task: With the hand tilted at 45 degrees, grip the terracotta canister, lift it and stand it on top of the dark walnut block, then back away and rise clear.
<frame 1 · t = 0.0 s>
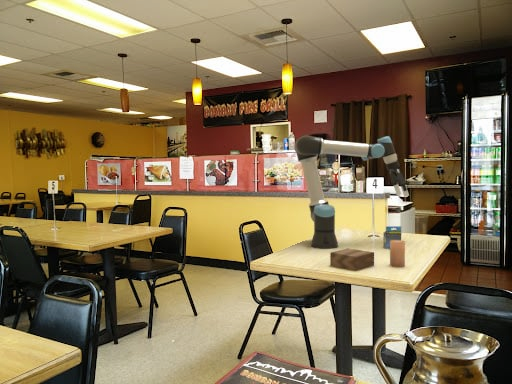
hand: (402, 195, 248), 28 cm above the table, fingers open, 13 cm apart
label tape box: (392, 248, 230), on the table
terracotta canister: (397, 265, 188), on the table
walnut block: (352, 265, 188), on the table
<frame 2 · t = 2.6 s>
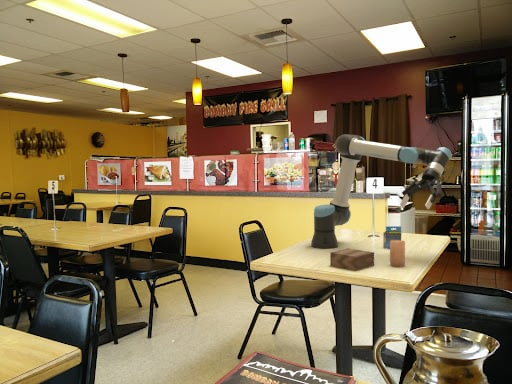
hand: (413, 206, 194), 26 cm above the table, fingers open, 13 cm apart
nothing on the table moved.
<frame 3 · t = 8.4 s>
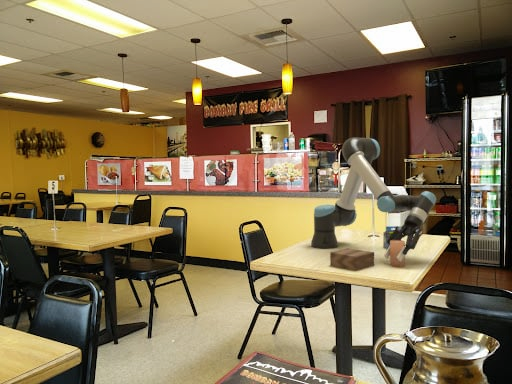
hand: (392, 258, 186), 4 cm above the table, fingers closed on terracotta canister, 6 cm apart
terracotta canister: (397, 265, 188), on the table, touching gripper
everything else where it was.
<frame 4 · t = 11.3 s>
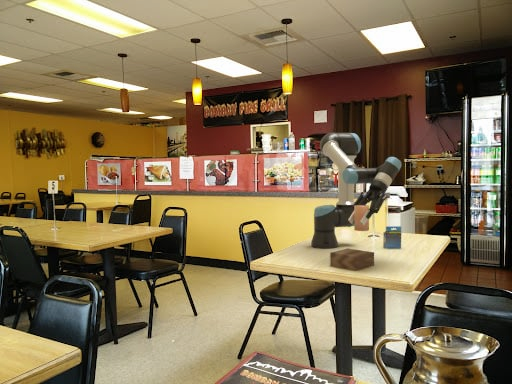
hand: (356, 222, 185), 20 cm above the table, fingers closed on terracotta canister, 6 cm apart
terracotta canister: (361, 229, 187), point 16 cm above the table, touching gripper
everything else where it was.
when the fingers open (11 cm above the table, at t = 14.6 s): terracotta canister drops 1 cm, resting on walnut block.
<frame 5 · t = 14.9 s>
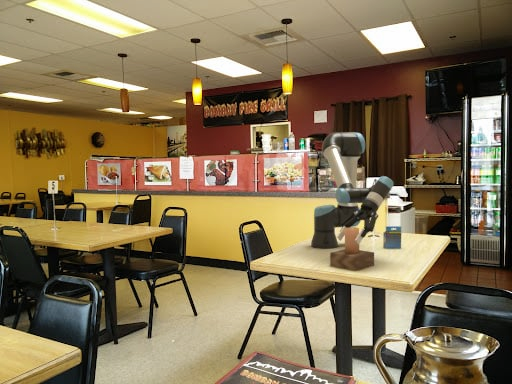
hand: (347, 240, 186), 12 cm above the table, fingers open, 10 cm apart
terracotta canister: (352, 252, 188), point 6 cm above the table, touching walnut block
everything else where it was.
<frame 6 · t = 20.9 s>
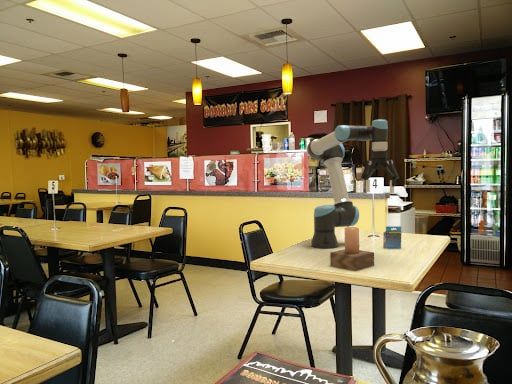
hand: (379, 192, 210), 32 cm above the table, fingers open, 13 cm apart
nothing on the table moved.
at the end: terracotta canister inside the target area on the walnut block (0.1 cm from its centre), point 6.1 cm above the walnut block's base; terracotta canister tilted 1°; the gripper is holding nothing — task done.
